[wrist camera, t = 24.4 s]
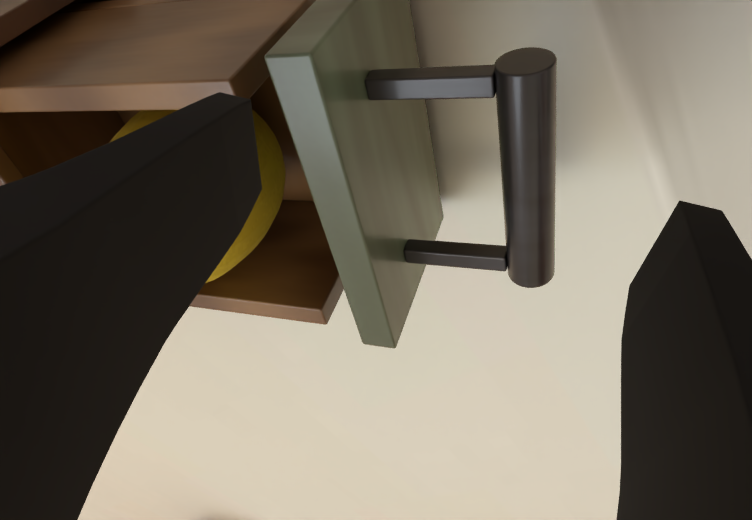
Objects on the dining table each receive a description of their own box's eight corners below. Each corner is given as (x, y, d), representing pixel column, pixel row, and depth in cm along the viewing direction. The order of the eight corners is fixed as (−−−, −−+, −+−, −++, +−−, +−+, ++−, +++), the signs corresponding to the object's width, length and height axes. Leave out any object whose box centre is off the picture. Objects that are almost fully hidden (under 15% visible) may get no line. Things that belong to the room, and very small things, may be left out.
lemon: (256, 24, 19) (102, 174, 13) (346, 160, 22) (247, 327, 16) (153, 81, 22) (-4, 220, 17) (244, 193, 25) (134, 342, 19)
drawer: (575, -78, 15) (542, 41, 11) (566, 224, 22) (544, 371, 17) (56, -15, 21) (-96, 74, 17) (175, 202, 28) (88, 305, 24)
